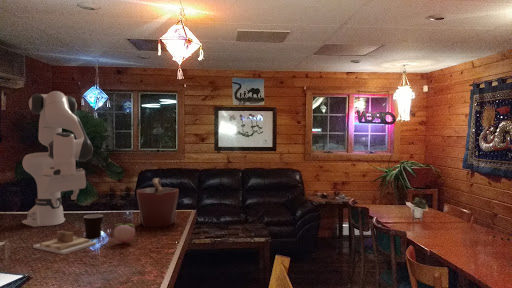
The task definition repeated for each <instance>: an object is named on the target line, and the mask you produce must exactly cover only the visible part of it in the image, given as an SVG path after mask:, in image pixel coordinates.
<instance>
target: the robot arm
mask: <svg viewBox="0 0 512 288" xmlns="http://www.w3.org/2000/svg"><path fill="white" fill-rule="evenodd" d="M28 106H29V109H30V111H31V112H32V114H36V115H39V120H38V121H39V122H38V137H37V138H38V142H39V143H41V145H43V146H45V147H47V149H48V151H46V152H33V153H29V154H26V155H25V156H23V159H22V167H23V170H25V172H26V173H28V174H29V175H31V176H32V177H33V179H34V180H35V183H36V188H37V198H35V199H34V202H35V205H34V206H32V208H31V209H30V210H28V212H27V216H26V217H27V219H24V220H21V221H22V222H21V223H22V224H25V225H27V226H30V227H43V226H44V227H46V226H56V225H60V224H62V223H64V222H65V221H66V218H65V217H64V208H63V207H64V206H63V205H62V196H61V195H62V192H68V191H72V192H73V193H72V195H70V197H71V198H70V199H71V200H77V196H78V194H79V192H80V190H81V189H86V186H87V179H86V171H85V169H83V168H81V167H79V168H76V167H77V166H76V161H80V162H81V161H82V162H86V161H87V160H89V159H90V158H91V157H93V154H94V147H93V145H92V142H91V141H90V139H89V137H88V135H87V132H86V131H85V129H84V125H83V124H82V121H81V120H80V118H79V116H77V115H75V113H76V111H77V108H78V104H77V102H76V98H74V97H73V96H71V95H65V94H64V93H63V92H62V91H59V90H53V91H50V92H49V93H47V94H45V93H35V94H34V93H33V94H32V95H31V96H30V99H29V100H28ZM62 129H65V130H68V131H70V132H68V131H67V132H66V131H63V130H62ZM75 138H76V139H75Z"/></svg>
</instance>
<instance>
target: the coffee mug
mask: <svg viewBox="0 0 512 288" xmlns="http://www.w3.org/2000/svg"><path fill="white" fill-rule="evenodd" d="M103 219H104V215H103V214H100V213H99V214H96V213H95V214H87V215H84V216H83V223H84V231H85V232H84V233H85V239H90V240H92V239H93V240H95V239H99V238H101V237H102V236H101V235H102V228H103Z"/></svg>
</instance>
